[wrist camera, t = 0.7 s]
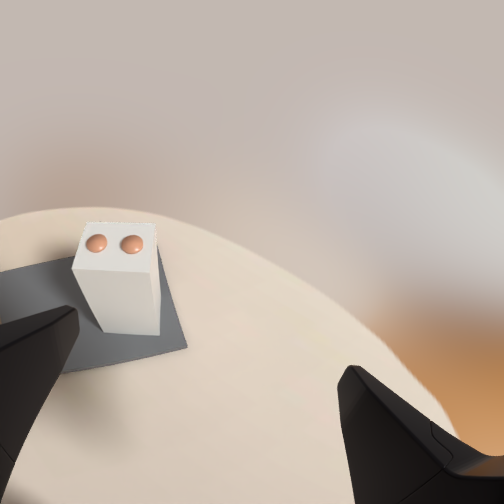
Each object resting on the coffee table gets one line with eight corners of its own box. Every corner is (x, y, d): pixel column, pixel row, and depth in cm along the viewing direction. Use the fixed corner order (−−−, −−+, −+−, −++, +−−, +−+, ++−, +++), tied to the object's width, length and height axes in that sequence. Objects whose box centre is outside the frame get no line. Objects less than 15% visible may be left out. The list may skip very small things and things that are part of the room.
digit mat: (-43, 382, 12) (-47, 380, 11) (-36, 284, 18) (-38, 281, 18) (187, 347, 22) (187, 345, 22) (156, 244, 29) (156, 240, 28)
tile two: (159, 335, 22) (149, 270, 15) (103, 332, 21) (70, 266, 14) (161, 295, 24) (155, 221, 18) (109, 293, 23) (86, 219, 16)
